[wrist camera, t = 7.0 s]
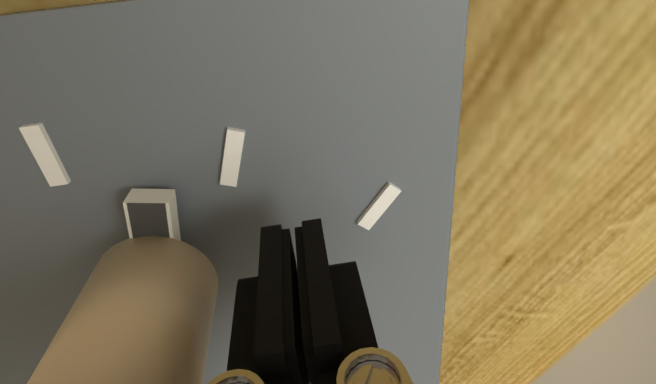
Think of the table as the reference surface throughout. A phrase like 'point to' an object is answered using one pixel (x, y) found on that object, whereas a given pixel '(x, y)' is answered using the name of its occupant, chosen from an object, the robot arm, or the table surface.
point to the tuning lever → (139, 307)
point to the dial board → (231, 150)
